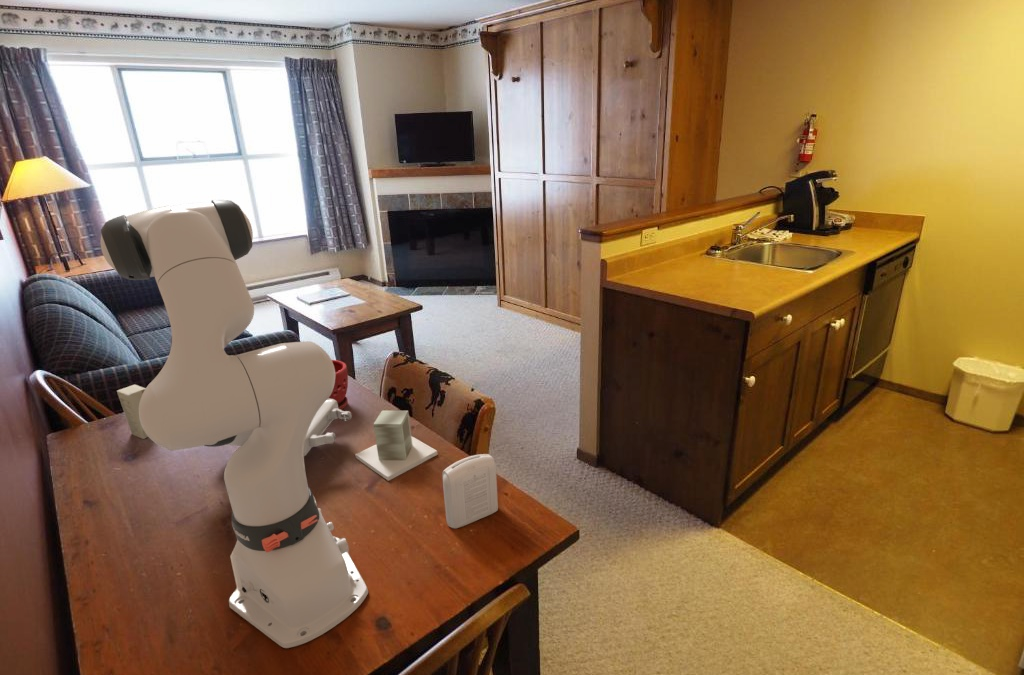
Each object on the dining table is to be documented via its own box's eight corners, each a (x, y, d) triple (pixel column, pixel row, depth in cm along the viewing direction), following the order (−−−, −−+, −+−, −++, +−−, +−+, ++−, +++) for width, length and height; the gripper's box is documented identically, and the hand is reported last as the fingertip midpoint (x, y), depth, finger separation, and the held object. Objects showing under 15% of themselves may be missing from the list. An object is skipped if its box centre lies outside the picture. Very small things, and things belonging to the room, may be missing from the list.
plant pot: (339, 421, 138) (331, 378, 133) (291, 419, 140) (282, 377, 136) (360, 398, 150) (354, 358, 145) (316, 396, 152) (309, 357, 148)
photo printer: (490, 499, 106) (486, 444, 101) (502, 511, 102) (498, 455, 98) (442, 520, 101) (436, 463, 96) (453, 533, 97) (447, 475, 93)
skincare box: (161, 432, 136) (147, 388, 132) (142, 440, 133) (128, 395, 129) (148, 425, 140) (135, 383, 135) (130, 433, 136) (115, 390, 132)
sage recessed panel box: (378, 460, 118) (373, 424, 115) (387, 445, 124) (381, 410, 121) (405, 460, 118) (400, 424, 115) (412, 445, 124) (408, 410, 120)
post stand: (437, 454, 121) (434, 422, 118) (388, 480, 113) (383, 446, 110) (403, 434, 130) (399, 404, 127) (355, 458, 121) (350, 425, 119)
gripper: (255, 438, 110) (321, 439, 109) (300, 393, 129) (356, 393, 128) (262, 465, 112) (326, 465, 111) (304, 416, 131) (360, 416, 130)
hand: (342, 426), depth 120 cm, fingers open, 8 cm apart
